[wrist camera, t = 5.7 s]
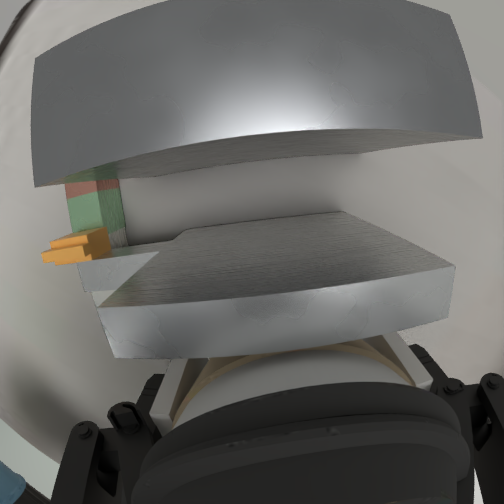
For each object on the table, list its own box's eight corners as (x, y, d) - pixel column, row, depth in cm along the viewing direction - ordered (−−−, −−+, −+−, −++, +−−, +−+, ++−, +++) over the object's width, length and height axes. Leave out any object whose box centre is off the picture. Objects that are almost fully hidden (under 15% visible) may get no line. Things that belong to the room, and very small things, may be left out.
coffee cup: (230, 261, 17) (71, 403, 2) (368, 296, 17) (560, 421, 2) (200, 386, 18) (122, 578, 3) (324, 412, 18) (378, 591, 3)
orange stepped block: (74, 254, 13) (45, 270, 11) (69, 233, 13) (39, 246, 10) (113, 248, 13) (87, 264, 11) (108, 225, 13) (80, 237, 10)
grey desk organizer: (121, 321, 18) (45, 419, 8) (84, 132, 14) (-39, 117, 5) (365, 297, 17) (447, 400, 7) (351, 89, 14) (449, 14, 4)
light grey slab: (123, 263, 16) (17, 348, 7) (117, 239, 16) (1, 309, 6) (345, 237, 16) (447, 317, 6) (343, 211, 15) (455, 265, 6)
